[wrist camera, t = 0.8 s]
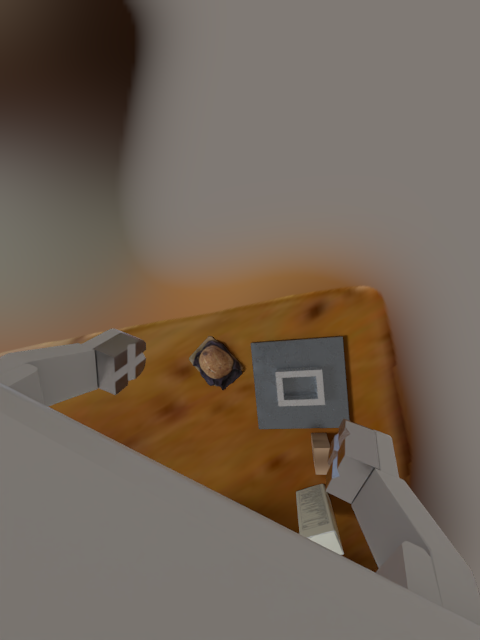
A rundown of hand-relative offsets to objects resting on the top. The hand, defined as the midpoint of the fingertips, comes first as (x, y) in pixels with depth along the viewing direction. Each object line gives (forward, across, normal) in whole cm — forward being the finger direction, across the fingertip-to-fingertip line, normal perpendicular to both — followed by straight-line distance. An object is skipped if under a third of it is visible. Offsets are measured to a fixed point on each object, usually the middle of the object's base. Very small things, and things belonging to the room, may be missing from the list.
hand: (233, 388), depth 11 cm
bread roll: (+38, -14, -29) cm, 50 cm away
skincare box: (+32, +14, -48) cm, 60 cm away
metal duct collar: (+39, +4, -28) cm, 48 cm away
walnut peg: (+36, +12, -38) cm, 54 cm away
